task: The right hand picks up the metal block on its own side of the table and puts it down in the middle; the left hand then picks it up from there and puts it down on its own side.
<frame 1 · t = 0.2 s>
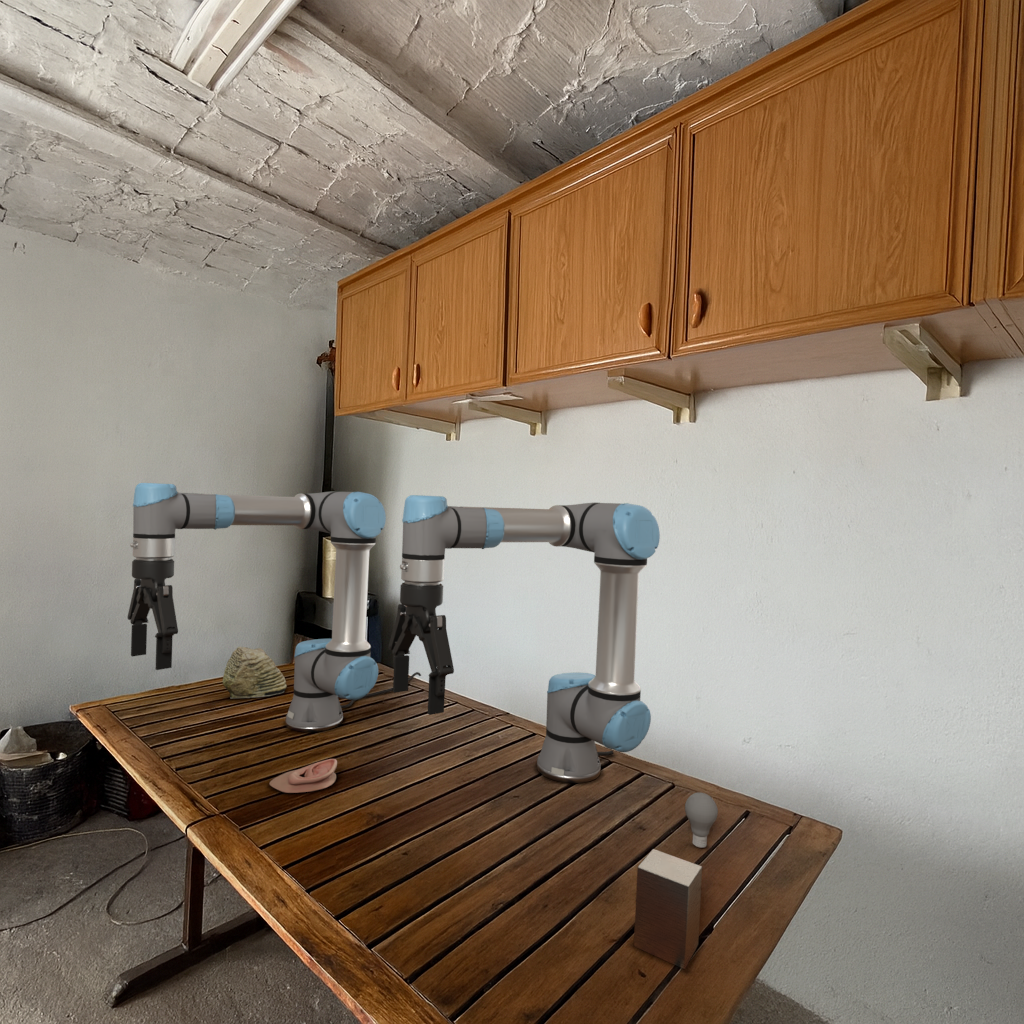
left hand: (150, 661, 130), 28 cm above the table, tool pointing down, fingers open, 13 cm apart
right hand: (417, 701, 112), 28 cm above the table, tool pointing down, fingers open, 13 cm apart
fossil: (254, 694, 198), on the table
anatomical model: (303, 782, 140), on the table
block: (666, 945, 93), on the table
light bulb: (699, 847, 120), on the table
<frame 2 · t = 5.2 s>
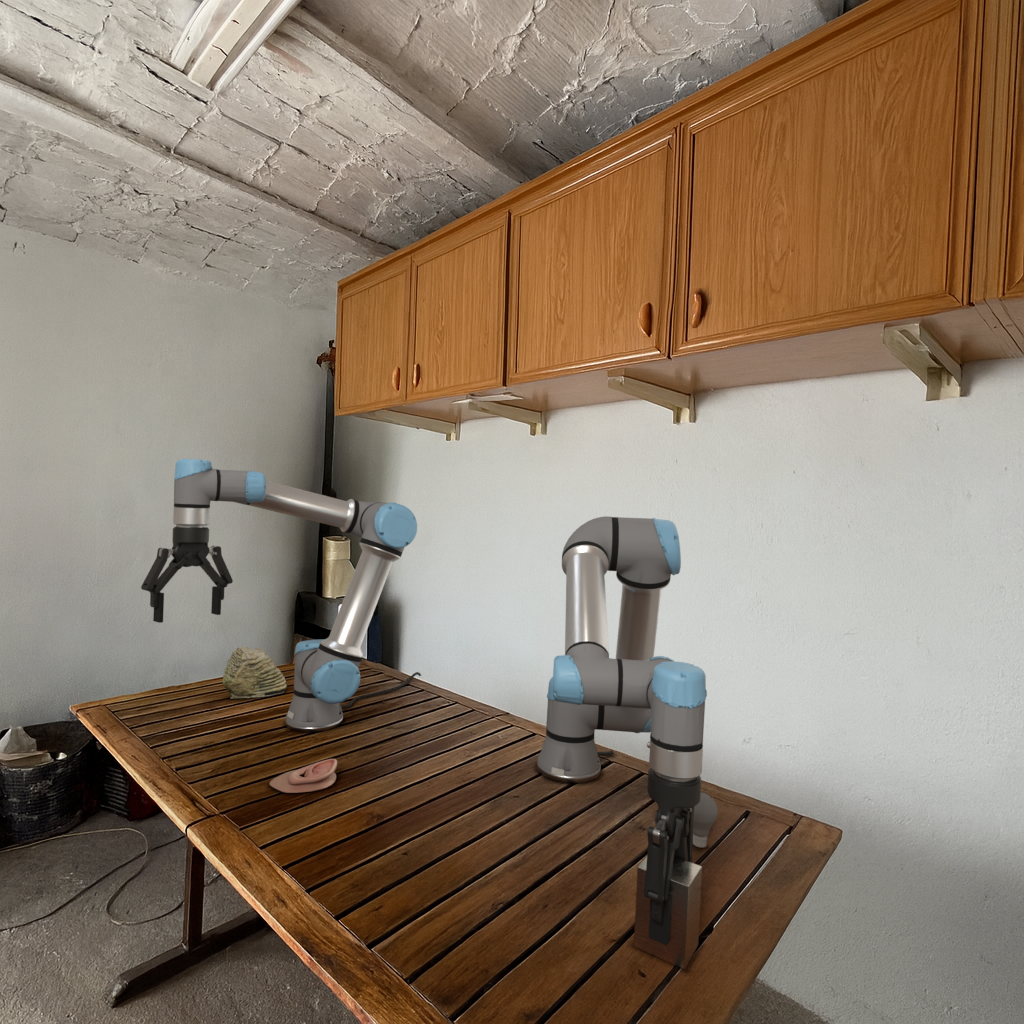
left hand: (188, 617, 146), 34 cm above the table, tool pointing down, fingers open, 13 cm apart
right hand: (667, 926, 93), 3 cm above the table, tool pointing down, fingers closed on block, 6 cm apart
block: (666, 945, 93), on the table, touching right hand
everything else where it was.
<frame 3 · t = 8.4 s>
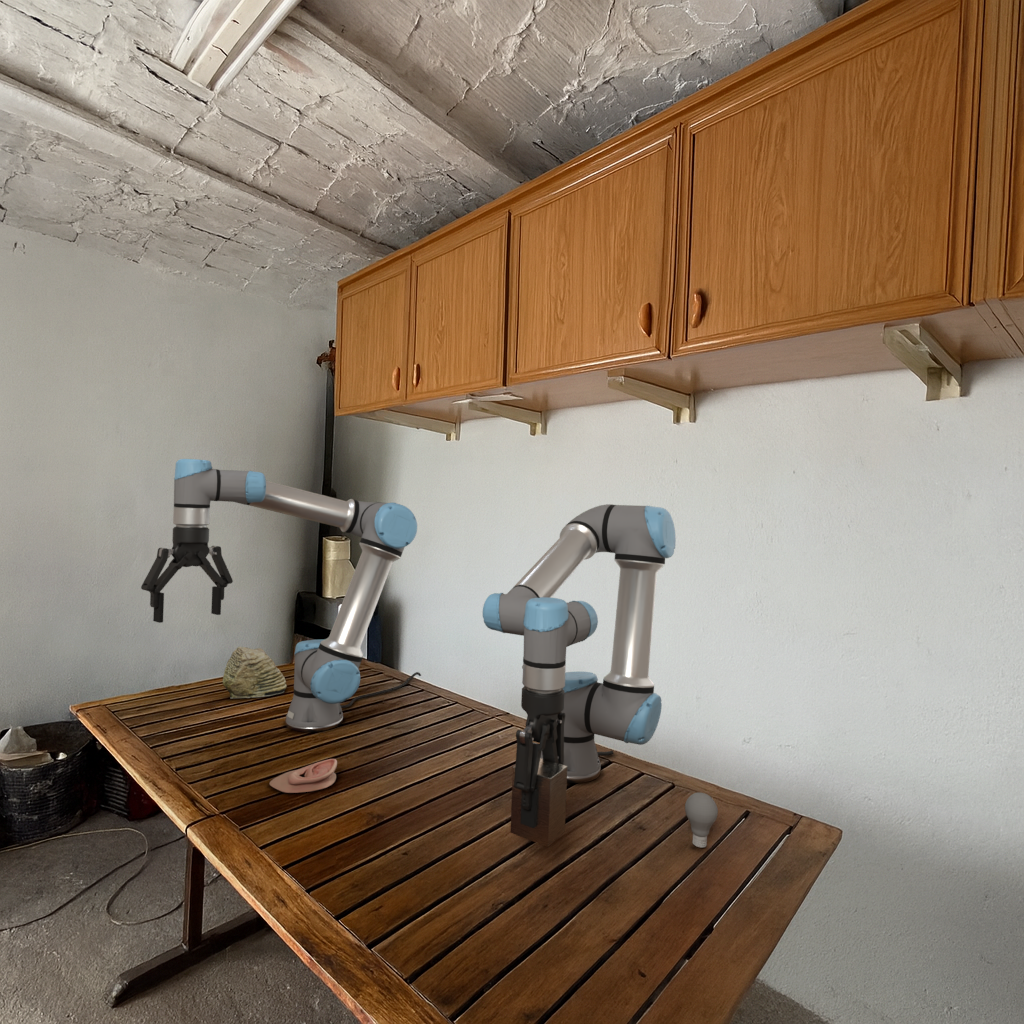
left hand: (188, 617, 146), 34 cm above the table, tool pointing down, fingers open, 13 cm apart
right hand: (538, 816, 112), 9 cm above the table, tool pointing down, fingers closed on block, 6 cm apart
block: (537, 832, 112), point 6 cm above the table, touching right hand
everything else where it was.
when the right hand's fingers open (4 cm above the table, at t = 11.9 s): block drops 2 cm, on the table.
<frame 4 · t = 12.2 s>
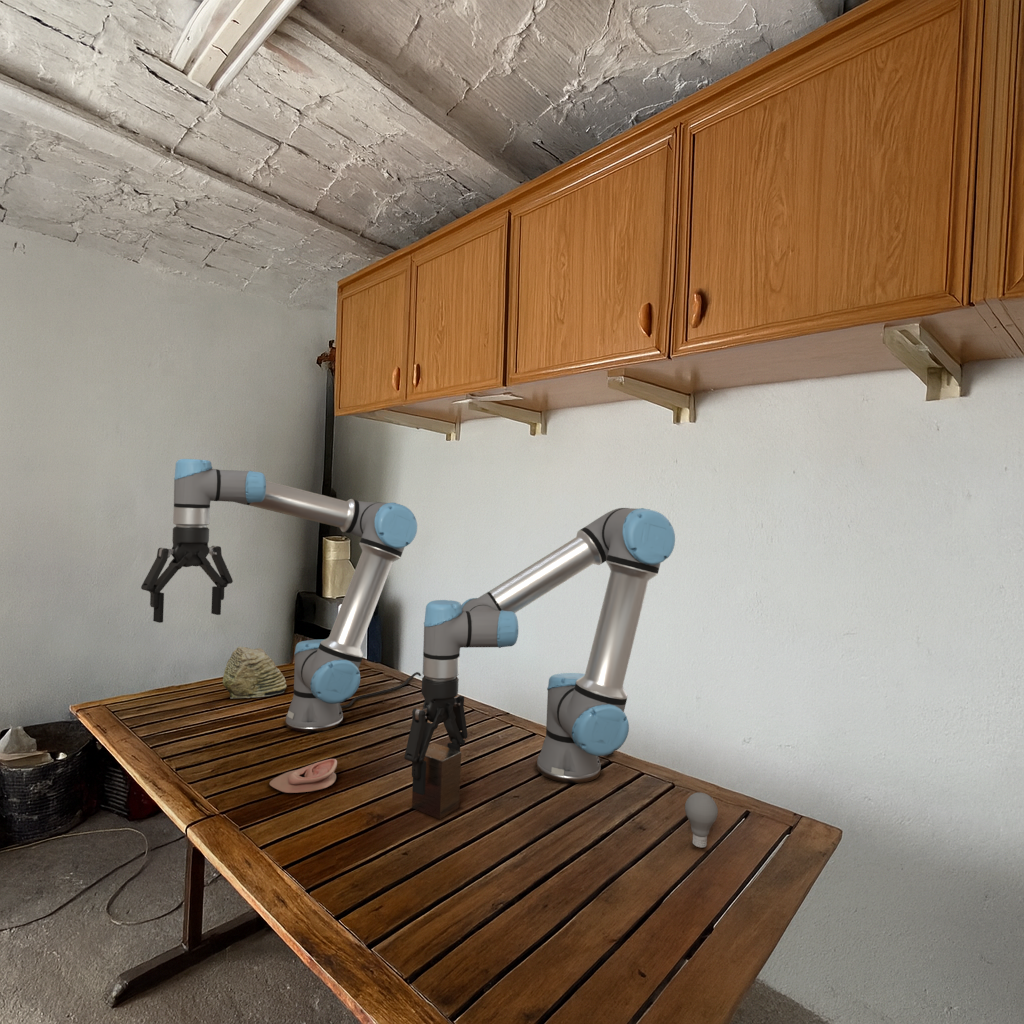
left hand: (188, 617, 146), 34 cm above the table, tool pointing down, fingers open, 13 cm apart
right hand: (436, 783, 131), 5 cm above the table, tool pointing down, fingers open, 10 cm apart
block: (435, 807, 131), on the table
everything else where it was.
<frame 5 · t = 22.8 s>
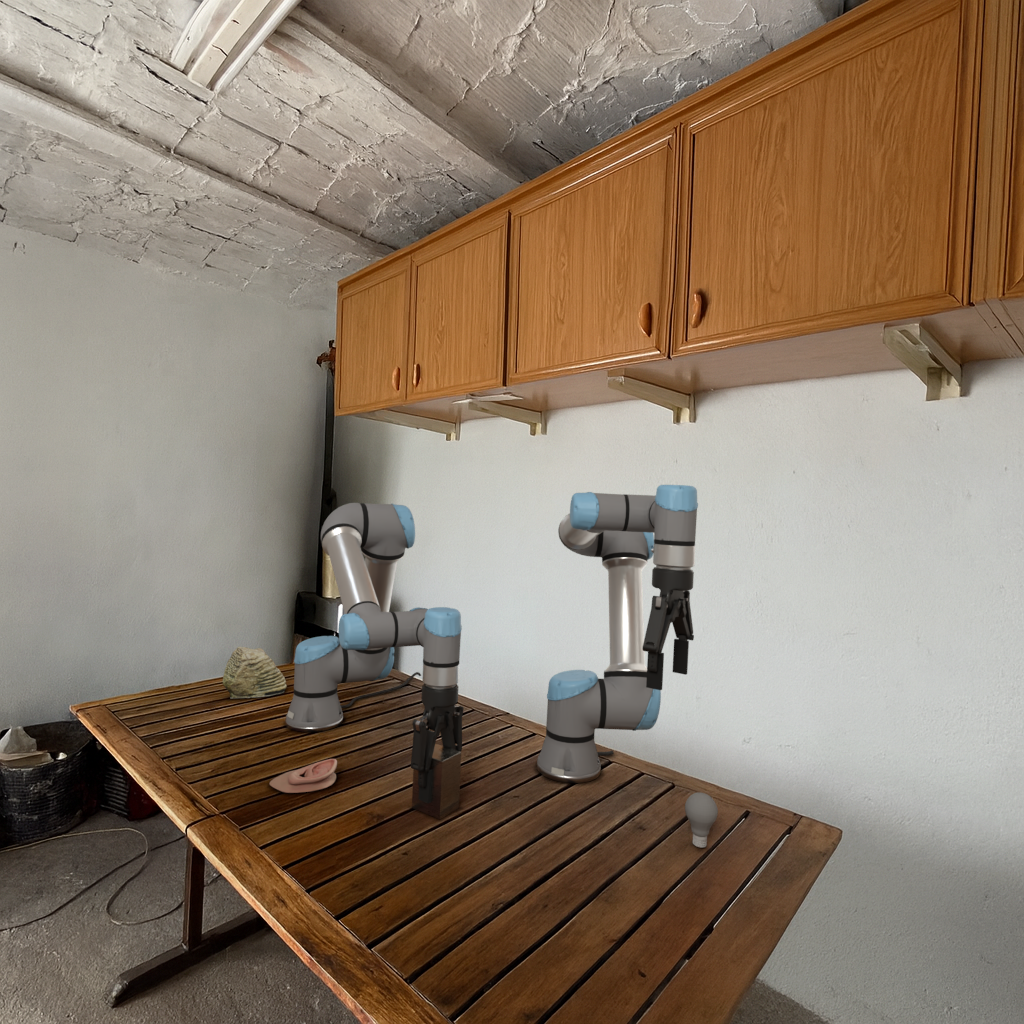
left hand: (435, 794, 131), 3 cm above the table, tool pointing down, fingers closed on block, 6 cm apart
right hand: (667, 680, 119), 32 cm above the table, tool pointing down, fingers open, 13 cm apart
block: (435, 808, 131), on the table, touching left hand
everything else where it was.
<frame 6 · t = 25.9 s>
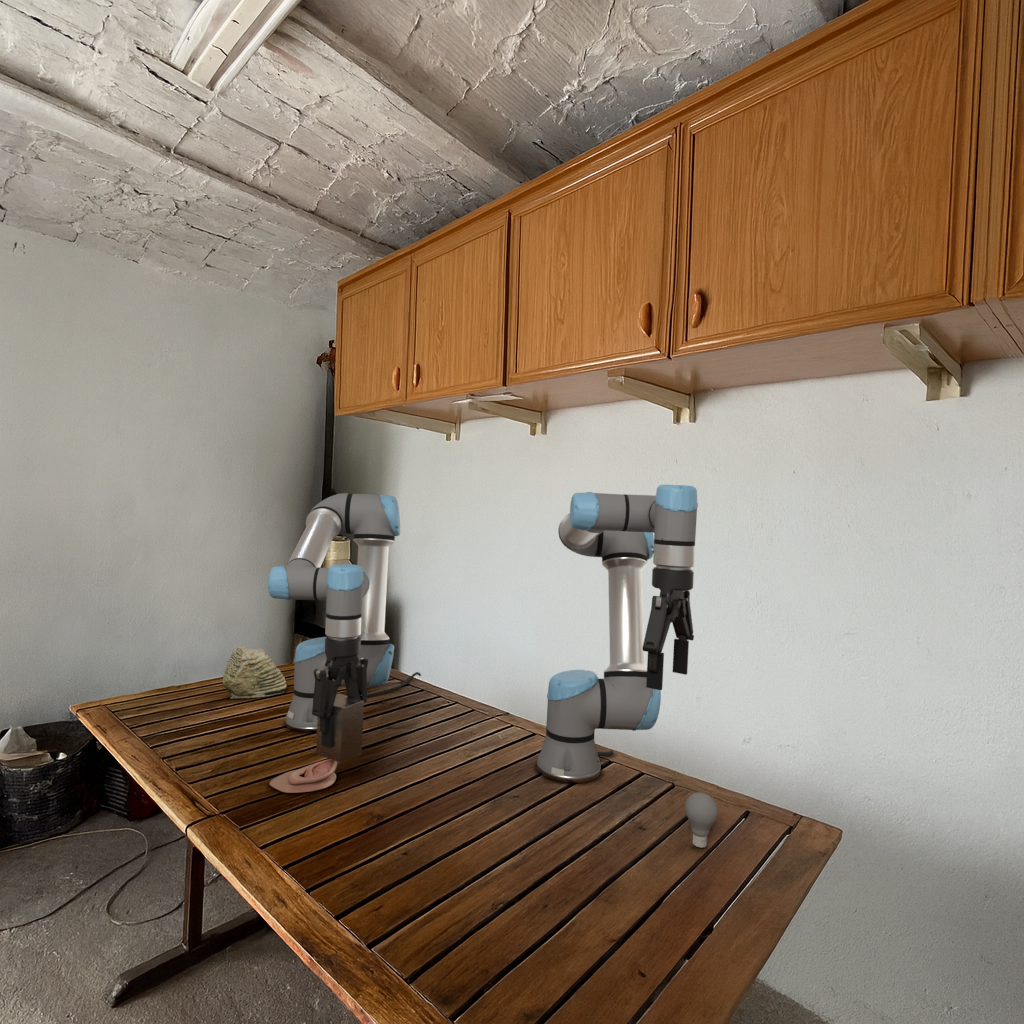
left hand: (339, 741, 138), 10 cm above the table, tool pointing down, fingers closed on block, 6 cm apart
right hand: (667, 680, 119), 32 cm above the table, tool pointing down, fingers open, 13 cm apart
block: (339, 753, 138), point 7 cm above the table, touching left hand
everything else where it was.
when the left hand's fingers open (4 cm above the table, at t = 29.5 s): block drops 2 cm, on the table.
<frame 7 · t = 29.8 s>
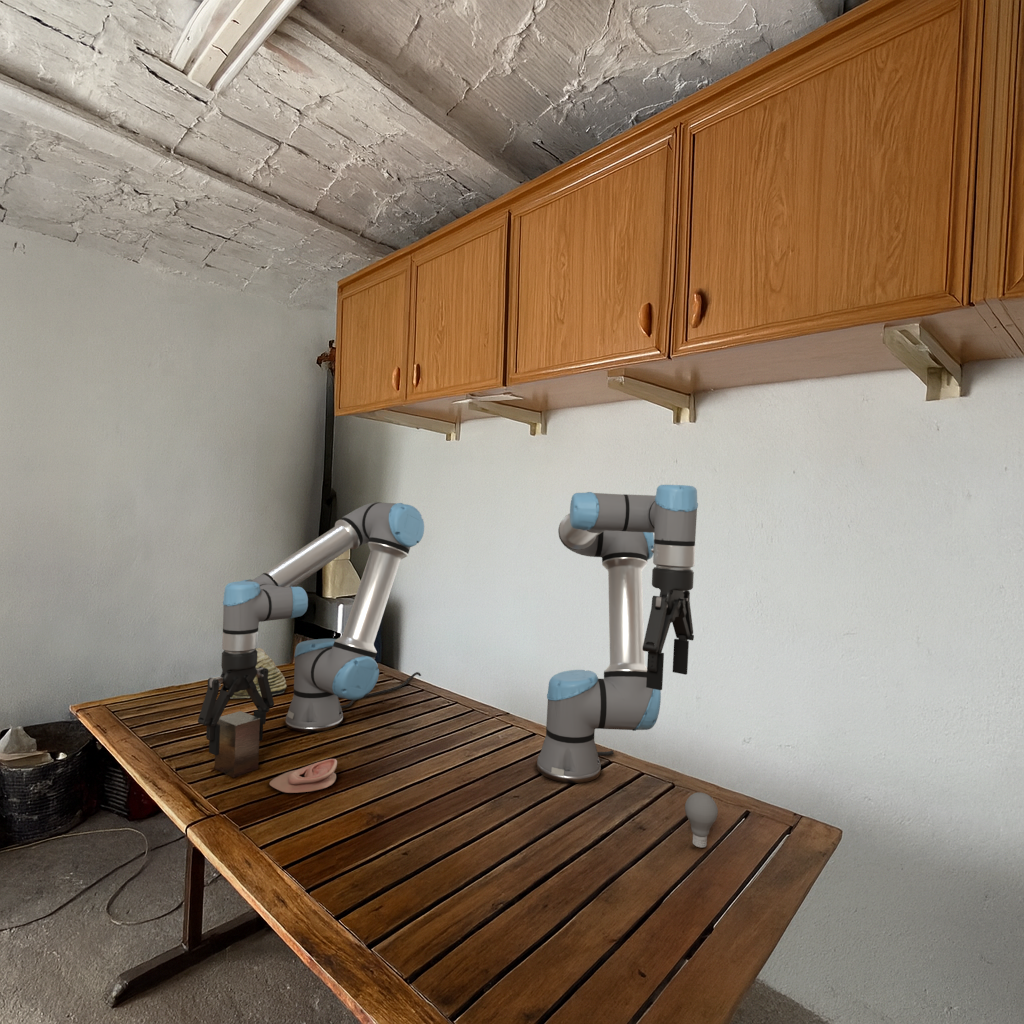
left hand: (236, 746, 145), 5 cm above the table, tool pointing down, fingers open, 10 cm apart
right hand: (667, 680, 119), 32 cm above the table, tool pointing down, fingers open, 13 cm apart
block: (236, 768, 145), on the table
everything else where it was.
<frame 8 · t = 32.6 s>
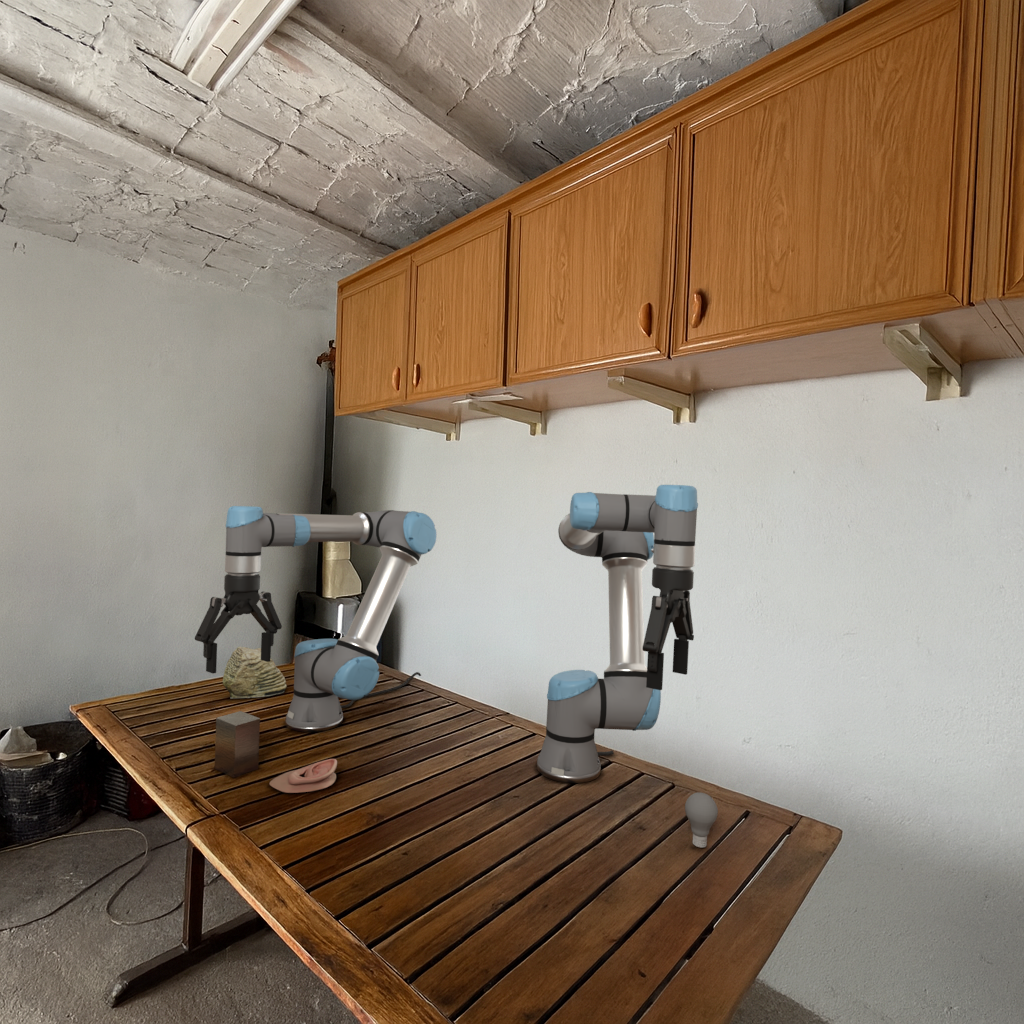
left hand: (239, 666, 145), 24 cm above the table, tool pointing down, fingers open, 13 cm apart
right hand: (667, 680, 119), 32 cm above the table, tool pointing down, fingers open, 13 cm apart
nothing on the table moved.
at the end: block inside the target area (0.2 cm from its centre), on the table; block tilted 0°; the two hands never held the block at the same time; the left hand is holding nothing; the right hand is holding nothing; block at rest at the end (0.0 cm/s) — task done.
